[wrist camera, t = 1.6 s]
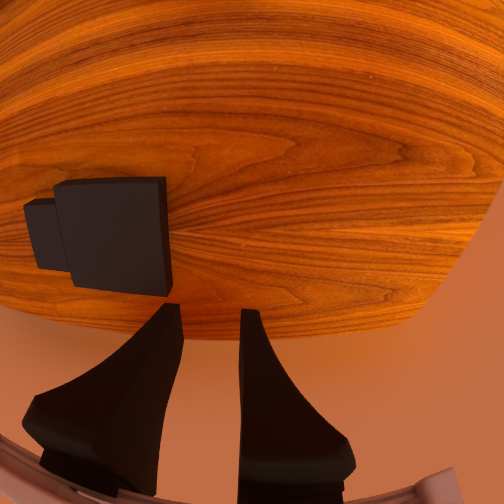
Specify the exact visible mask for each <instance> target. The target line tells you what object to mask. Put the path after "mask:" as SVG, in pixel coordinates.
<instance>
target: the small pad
mask: <svg viewBox="0 0 504 504" xmlns="http://www.w3.org/2000/svg"><path fill="white" fill-rule="evenodd" d="M53 190H54V197H55V198H40V199H34V200H32V201H30V202H29V203H27V204H25V205H24V206H23V208H24V213H25V218H26V222H27V227H28V231H29V236H30V240H31V244H32V248H33V251H34V255H35V259H36V262H37V265H38V268H40V269H48V270H56V271H64V272H70V273H71V277H72V280H73V284H74V286H75V287H82V288H90V289H98V290H106V291H114V292H122V293H131V294H141V295H150V296H161V297H168V295H169V293H170V290H171V288H172V285H173V281H172V271H171V260H170V248H169V235H168V220H167V201H166V178H165V177H116V178H93V179H75V180H65V181H63V182H61V183H59V184H57V185H55V186H53Z"/></svg>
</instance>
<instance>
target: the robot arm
mask: <svg viewBox="0 0 504 504" xmlns="http://www.w3.org/2000/svg"><path fill="white" fill-rule="evenodd" d="M183 343H184V336H183V329H182V321H181V312H180V304H172V303H165V304H163V305H162V306H161V307H160V308H159V310H158V311H157V312H156V313H155V314H154V315H153V316H152V317H151V318H150V319H149V320H148V321H147V322H146V323H145V324H144V325H143V326H142V327H141V328H140V329H139V330H138V331H137V332H136V333H135V334H134V335H133V336H132V337H131V338H130V339H129V340H128V341H127V342H126V343H125V344H124V345H123V346H121V347H120V348H119V349H118V350H117V351H116V352H114V353H113V354H112V355H111V356H109V357H108V358H107V359H105V360H104V361H103V362H102V363H100V364H98V365H97V366H95V367H94V368H92V369H91V370H89V371H87V372H86V373H84V374H83V375H81V376H79V377H77V378H75V379H74V380H72V381H70V382H68V383H66V384H64V385H61V386H59V387H57V388H55V389H52V390H49V391H47V392H44V393H42V394H39V395H36V396H35V397H34V399H33V401H32V402H31V404H30V406H29V408H28V410H27V412H26V414H25V416H24V418H23V420H22V426H23V428H24V429H25V430H26V432H27V433H28V434H29V435H30V436H31V437H32V438H33V439H34V440H35V441H36V442H37V443H38V444H40V445H41V446H42V447H43V448H44V451H43V454H42V456H41V457H39V456H37V455H35V454H34V453H32V452H30V451H28V450H26V449H24V448H23V447H21V446H19V445H17V444H16V443H14V442H12V441H10V440H9V439H7V438H6V437H4V436H2V435H1V434H0V492H1V493H2V494H4V495H5V496H6V497H7V498H9V499H10V500H11V501H13V502H14V503H15V504H188V503H181V502H175V501H170V500H164V499H160V498H155V497H153V496H154V495H156V487H157V470H158V460H159V450H160V442H161V435H162V428H163V422H164V416H165V411H166V407H167V403H168V400H169V397H170V393H171V390H172V387H173V384H174V380H175V377H176V374H177V371H178V367H179V364H180V360H181V355H182V349H183ZM239 347H240V348H239V383H240V384H239V385H240V405H241V432H240V454H239V455H240V456H239V475H238V498H237V504H463V500H462V496H461V493H460V489H459V486H458V483H457V479H456V476H455V473H454V469H453V468H452V467H450V468H448V469H445V470H443V471H440V472H438V473H435V474H433V475H430V476H427V477H425V478H423V479H421V480H420V481H419V482H417V483H416V484H415V485H412V486H409V487H406V488H403V489H399V490H396V491H392V492H388V493H385V494H381V495H377V496H372V497H368V498H363V499H358V500H353V501H348V502H343V496H342V492H343V491H344V481H343V480H345V479H346V478H347V477H348V476H349V475H350V474H351V473H352V472H353V471H354V470H355V468H356V462H355V457H354V454H353V451H352V449H351V446H350V444H349V441H348V439H347V438H346V437H345V436H344V435H342V434H341V433H340V432H339V431H337V430H336V429H335V428H334V427H333V426H332V425H330V424H329V423H328V422H327V421H326V420H325V419H324V418H323V417H322V416H321V415H320V414H319V413H318V412H317V411H316V410H315V409H314V408H313V406H312V405H311V404H310V403H309V402H308V401H307V400H306V399H305V398H304V396H303V395H302V394H301V393H300V391H299V390H298V389H297V387H296V386H295V385H294V383H293V382H292V380H291V379H290V378H289V376H288V375H287V373H286V371H285V370H284V368H283V367H282V365H281V363H280V361H279V360H278V358H277V356H276V354H275V352H274V350H273V349H272V346H271V344H270V342H269V340H268V337H267V335H266V332H265V330H264V327H263V324H262V321H261V317H260V312H259V311H258V310H255V309H241V322H240V346H239Z"/></svg>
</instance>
